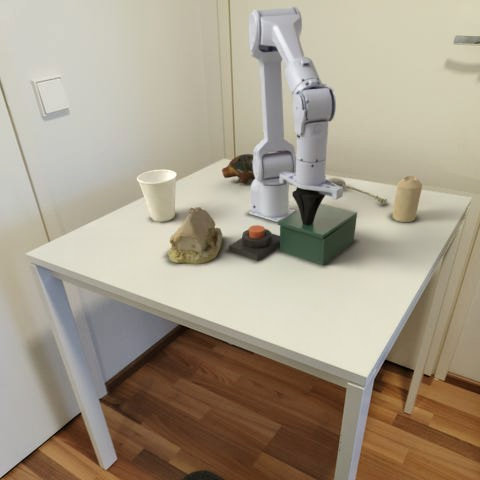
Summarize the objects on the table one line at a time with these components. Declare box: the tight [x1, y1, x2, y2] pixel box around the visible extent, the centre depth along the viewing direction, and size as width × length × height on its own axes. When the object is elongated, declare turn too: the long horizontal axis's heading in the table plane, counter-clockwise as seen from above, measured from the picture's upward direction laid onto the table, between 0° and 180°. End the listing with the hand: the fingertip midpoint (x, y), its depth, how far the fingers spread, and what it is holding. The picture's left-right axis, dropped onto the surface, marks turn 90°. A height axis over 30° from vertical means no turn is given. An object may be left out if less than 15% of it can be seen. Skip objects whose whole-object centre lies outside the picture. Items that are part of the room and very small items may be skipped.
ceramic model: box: [167, 206, 223, 265], centre depth 100 cm, size 14×11×10 cm
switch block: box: [228, 228, 280, 262], centre depth 102 cm, size 8×10×3 cm
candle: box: [392, 175, 423, 223], centre depth 109 cm, size 6×6×10 cm
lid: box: [277, 202, 358, 238], centre depth 98 cm, size 14×11×1 cm
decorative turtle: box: [221, 153, 255, 185], centre depth 135 cm, size 10×15×8 cm, turn 101°
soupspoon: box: [327, 177, 388, 206], centre depth 125 cm, size 22×3×7 cm
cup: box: [136, 169, 178, 223], centre depth 115 cm, size 10×10×11 cm
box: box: [279, 215, 358, 267], centre depth 100 cm, size 14×11×6 cm
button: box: [248, 224, 266, 239], centre depth 101 cm, size 4×4×2 cm
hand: (307, 223), depth 95 cm, fingers closed
